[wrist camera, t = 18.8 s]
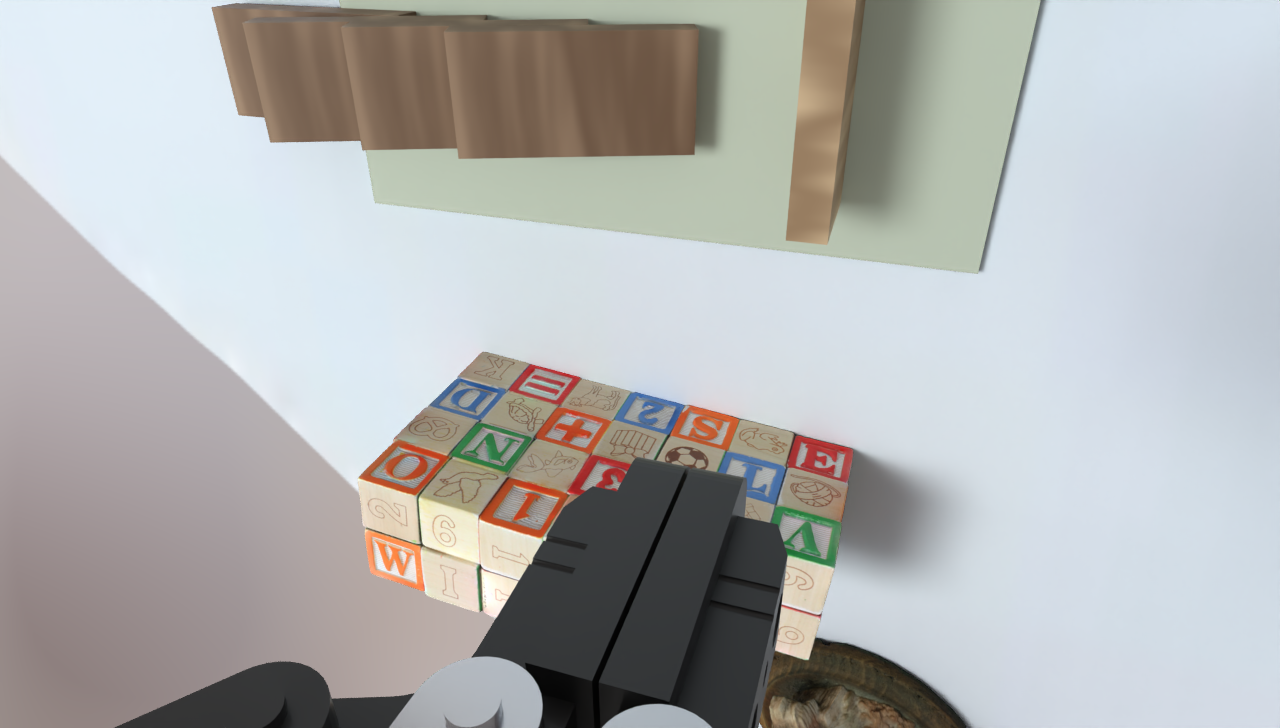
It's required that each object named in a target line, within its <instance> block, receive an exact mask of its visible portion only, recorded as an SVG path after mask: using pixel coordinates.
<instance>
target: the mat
mask: <svg viewBox="0 0 1280 728" xmlns="http://www.w3.org/2000/svg"><path fill="white" fill-rule="evenodd" d="M339 2H340V8H353V9H376V10H399V11H416V16H437V15H487V19H488V20H535V19H588V25H610V24H695V25H696V27H697V28H698V29H699V39H698V68H697V98H696V128H695V155H665V156H605V157H544V158H483V159H458V150H457V148H456V149H405V150H366V155H367V161H368V167H369V172H370V178H371V184H372V190H373V195H374V201H375V203H380V204H388V205H397V206H405V207H414V208H422V209H431V210H439V211H448V212H456V213H465V214H473V215H482V216H490V217H499V218H507V219H516V220H524V221H533V222H541V223H550V224H558V225H567V226H575V227H584V228H592V229H601V230H609V231H618V232H626V233H635V234H643V235H652V236H660V237H669V238H677V239H686V240H694V241H703V242H711V243H720V244H728V245H737V246H745V247H754V248H763V249H771V250H780V251H788V252H797V253H805V254H814V255H822V256H831V257H839V258H848V259H856V260H865V261H873V262H882V263H890V264H899V265H907V266H916V267H924V268H933V269H941V270H950V271H958V272H967V273H975V274H978V271H979V267H980V263H981V258H982V254H983V250H984V245H985V241H986V236H987V232H988V228H989V223H990V219H991V215H992V210H993V206H994V202H995V197H996V193H997V189H998V184H999V180H1000V176H1001V171H1002V167H1003V163H1004V158H1005V154H1006V150H1007V145H1008V141H1009V136H1010V132H1011V128H1012V123H1013V119H1014V115H1015V110H1016V106H1017V102H1018V97H1019V93H1020V89H1021V84H1022V80H1023V76H1024V71H1025V67H1026V63H1027V58H1028V54H1029V50H1030V45H1031V41H1032V36H1033V32H1034V28H1035V23H1036V19H1037V15H1038V10H1039V6H1040V2H1041V0H866V1H865V9H864V17H863V25H862V33H861V41H860V49H859V58H858V66H857V74H856V82H855V90H854V98H853V107H852V115H851V123H850V131H849V139H848V147H847V155H846V164H845V172H844V180H843V188H842V196H841V203H840V207H839V210H838V213H837V216H836V219H835V222H834V225H833V229H832V232H831V235H830V238H829V241H828V244H827V245H822V244H813V243H804V242H795V241H786V230H787V219H788V208H789V197H790V185H791V174H792V163H793V152H794V140H795V129H796V118H797V107H798V95H799V84H800V73H801V62H802V50H803V39H804V28H805V17H806V5H807V0H339Z"/></svg>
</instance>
